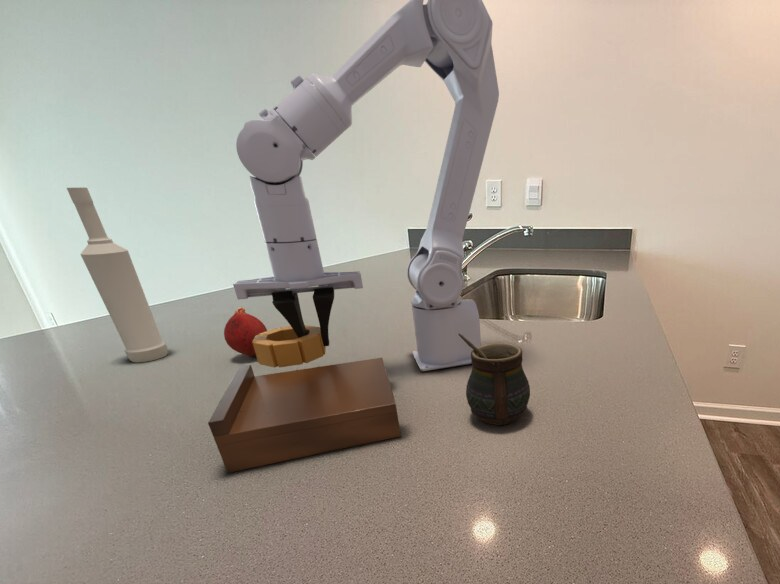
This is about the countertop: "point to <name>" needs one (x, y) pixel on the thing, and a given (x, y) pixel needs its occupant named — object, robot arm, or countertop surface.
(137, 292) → the bottle
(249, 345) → the red pomegranate
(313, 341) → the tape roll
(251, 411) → the shelf
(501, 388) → the mate gourd
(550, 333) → the countertop surface
